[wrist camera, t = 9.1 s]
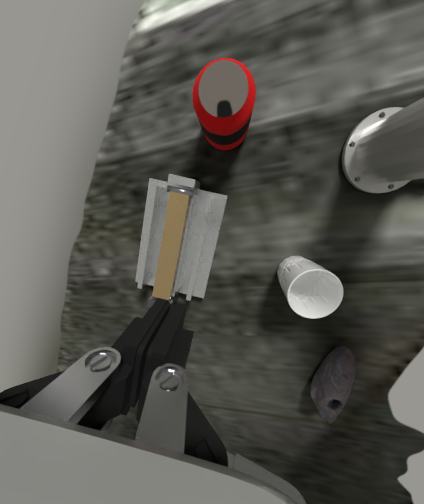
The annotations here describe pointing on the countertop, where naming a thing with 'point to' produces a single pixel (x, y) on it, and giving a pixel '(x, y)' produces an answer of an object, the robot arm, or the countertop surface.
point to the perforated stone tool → (333, 382)
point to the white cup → (309, 287)
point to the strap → (171, 240)
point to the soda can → (224, 102)
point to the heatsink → (193, 240)
